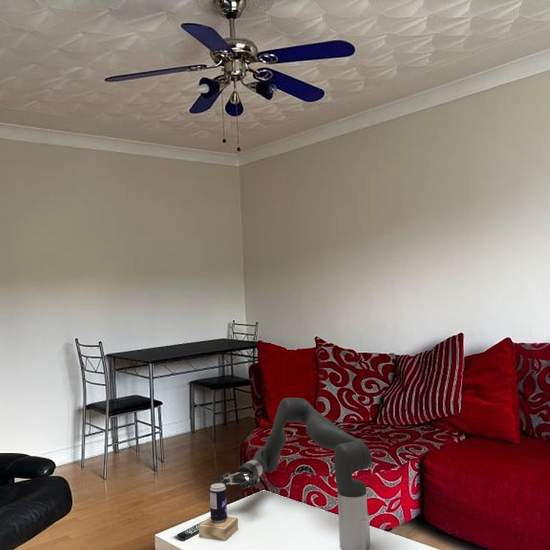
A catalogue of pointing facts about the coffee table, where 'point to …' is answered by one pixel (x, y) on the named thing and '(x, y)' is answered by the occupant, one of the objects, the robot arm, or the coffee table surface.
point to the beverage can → (218, 502)
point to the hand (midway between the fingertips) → (231, 486)
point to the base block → (218, 528)
